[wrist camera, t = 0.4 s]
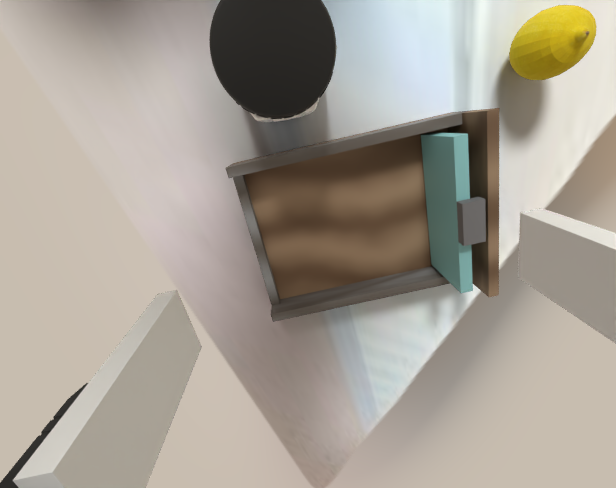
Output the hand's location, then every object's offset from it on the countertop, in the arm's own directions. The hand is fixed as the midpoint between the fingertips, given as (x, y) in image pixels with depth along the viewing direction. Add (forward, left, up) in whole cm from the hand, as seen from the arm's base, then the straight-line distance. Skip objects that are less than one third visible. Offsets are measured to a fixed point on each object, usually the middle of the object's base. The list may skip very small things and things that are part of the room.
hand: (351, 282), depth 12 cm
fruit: (-8, +23, -25) cm, 35 cm away
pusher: (+5, +13, -23) cm, 27 cm away
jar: (-11, -1, -25) cm, 27 cm away
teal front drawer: (+5, +4, -24) cm, 25 cm away
